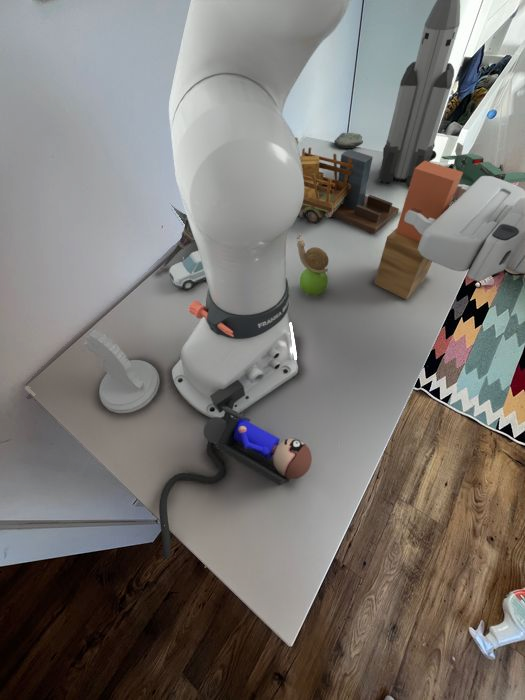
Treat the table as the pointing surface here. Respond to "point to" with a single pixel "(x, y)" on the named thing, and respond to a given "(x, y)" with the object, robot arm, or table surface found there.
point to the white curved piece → (122, 376)
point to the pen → (451, 166)
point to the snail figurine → (313, 269)
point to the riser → (401, 265)
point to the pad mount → (362, 197)
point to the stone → (348, 140)
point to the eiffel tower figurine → (184, 235)
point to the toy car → (188, 271)
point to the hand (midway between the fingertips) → (422, 200)
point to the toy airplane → (480, 168)
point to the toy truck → (322, 186)
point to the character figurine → (259, 447)
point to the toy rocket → (422, 96)
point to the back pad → (428, 194)
